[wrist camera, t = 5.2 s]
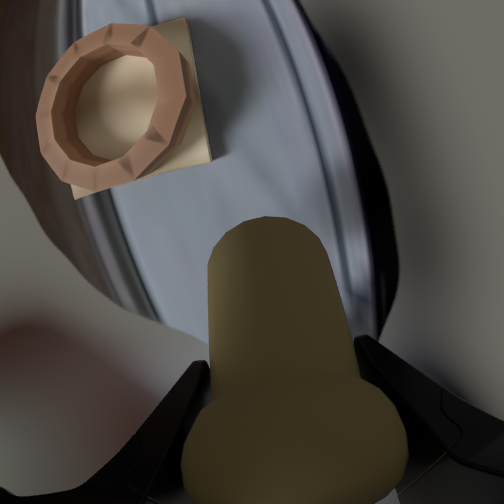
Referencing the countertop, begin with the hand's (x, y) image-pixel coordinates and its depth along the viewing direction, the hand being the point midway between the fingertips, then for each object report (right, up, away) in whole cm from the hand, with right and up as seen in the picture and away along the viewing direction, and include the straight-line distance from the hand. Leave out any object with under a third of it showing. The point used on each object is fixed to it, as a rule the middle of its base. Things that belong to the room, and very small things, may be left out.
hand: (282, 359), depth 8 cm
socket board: (-10, +14, +8) cm, 19 cm away
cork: (0, +2, +5) cm, 6 cm away
